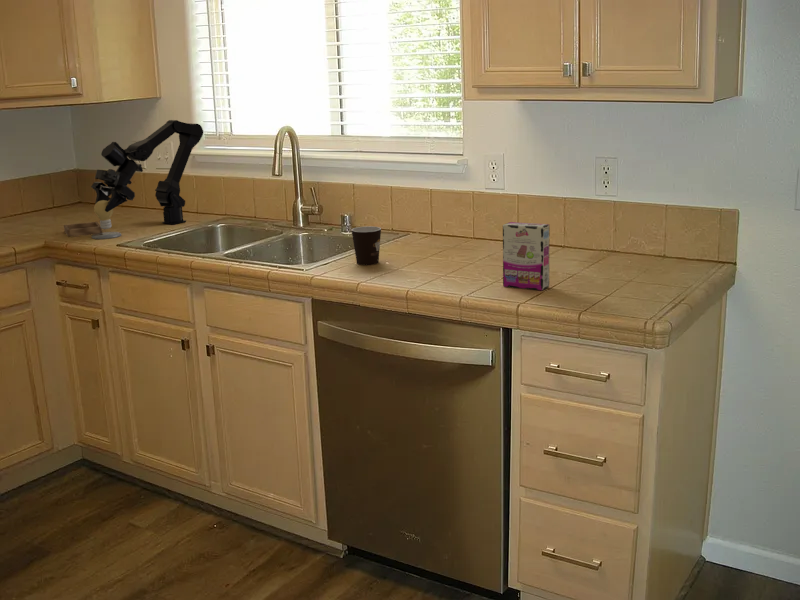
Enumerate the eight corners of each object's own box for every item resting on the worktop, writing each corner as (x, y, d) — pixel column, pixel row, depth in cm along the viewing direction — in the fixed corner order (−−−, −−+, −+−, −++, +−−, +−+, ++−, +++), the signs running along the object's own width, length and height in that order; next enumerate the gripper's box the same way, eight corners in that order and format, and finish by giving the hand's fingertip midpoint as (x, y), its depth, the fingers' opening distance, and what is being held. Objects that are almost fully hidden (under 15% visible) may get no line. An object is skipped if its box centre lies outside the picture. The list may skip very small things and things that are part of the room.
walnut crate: (97, 228, 334) (96, 221, 334) (102, 233, 324) (101, 226, 324) (64, 231, 330) (63, 225, 329) (68, 237, 320) (67, 230, 319)
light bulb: (105, 226, 322) (102, 198, 319) (119, 227, 320) (116, 199, 317) (92, 229, 317) (88, 201, 314) (106, 230, 314) (103, 202, 311)
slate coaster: (109, 232, 325) (109, 230, 325) (127, 235, 320) (127, 233, 320) (85, 237, 318) (85, 235, 317) (103, 240, 312) (103, 238, 312)
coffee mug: (364, 267, 260) (363, 233, 257) (347, 262, 266) (345, 229, 264) (396, 260, 267) (395, 227, 264) (378, 256, 274) (376, 223, 271)
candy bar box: (550, 286, 233) (550, 223, 229) (542, 291, 229) (543, 227, 224) (510, 282, 238) (509, 220, 234) (502, 286, 234) (501, 224, 230)
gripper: (92, 159, 320) (68, 194, 315) (123, 161, 309) (99, 198, 304) (114, 178, 328) (91, 213, 323) (145, 181, 317) (122, 218, 312)
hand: (100, 210), depth 315 cm, fingers closed on light bulb, 6 cm apart
